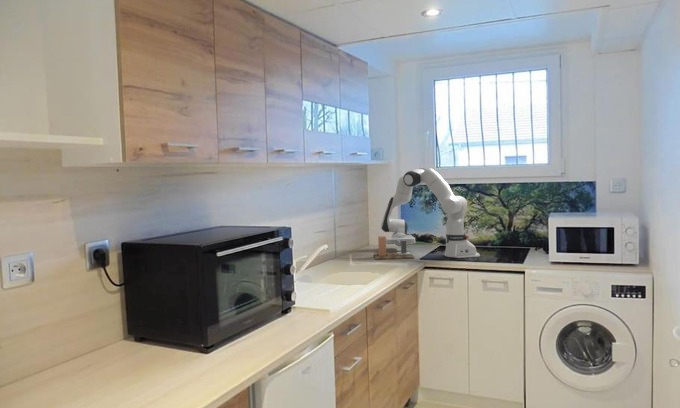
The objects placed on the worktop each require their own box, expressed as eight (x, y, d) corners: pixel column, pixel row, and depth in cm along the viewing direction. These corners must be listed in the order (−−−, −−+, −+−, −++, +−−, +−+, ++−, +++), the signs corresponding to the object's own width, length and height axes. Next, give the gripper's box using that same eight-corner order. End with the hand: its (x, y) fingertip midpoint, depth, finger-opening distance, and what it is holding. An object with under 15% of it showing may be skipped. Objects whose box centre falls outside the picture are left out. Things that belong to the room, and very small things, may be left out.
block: (385, 255, 331) (385, 236, 331) (386, 257, 327) (385, 237, 326) (378, 256, 331) (378, 236, 331) (379, 257, 327) (378, 237, 326)
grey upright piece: (409, 252, 333) (408, 239, 332) (410, 255, 325) (410, 241, 324) (397, 253, 333) (396, 240, 332) (398, 255, 325) (398, 241, 324)
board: (410, 255, 336) (410, 252, 336) (414, 260, 318) (414, 257, 318) (374, 256, 336) (374, 253, 336) (376, 261, 318) (375, 258, 318)
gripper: (384, 235, 354) (386, 238, 340) (413, 234, 354) (416, 237, 340) (384, 244, 354) (386, 247, 340) (413, 243, 354) (416, 246, 340)
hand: (401, 242), depth 340 cm, fingers closed
